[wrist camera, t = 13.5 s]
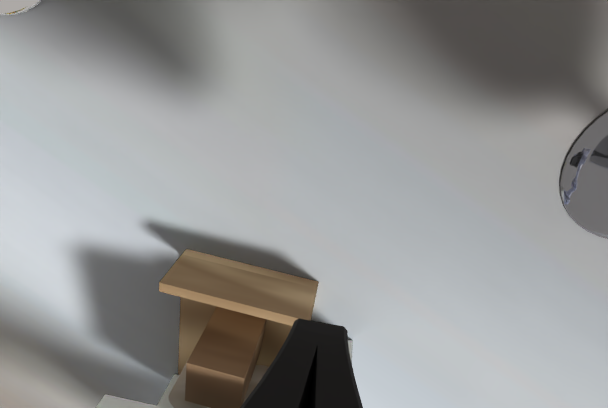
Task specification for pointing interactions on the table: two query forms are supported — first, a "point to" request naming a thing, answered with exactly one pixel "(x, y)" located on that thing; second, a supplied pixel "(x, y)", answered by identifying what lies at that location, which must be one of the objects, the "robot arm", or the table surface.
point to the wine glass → (588, 179)
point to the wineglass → (16, 6)
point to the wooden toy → (230, 325)
